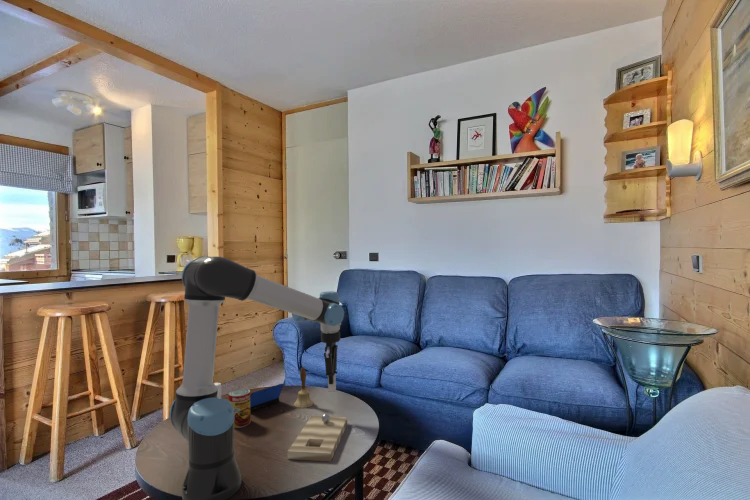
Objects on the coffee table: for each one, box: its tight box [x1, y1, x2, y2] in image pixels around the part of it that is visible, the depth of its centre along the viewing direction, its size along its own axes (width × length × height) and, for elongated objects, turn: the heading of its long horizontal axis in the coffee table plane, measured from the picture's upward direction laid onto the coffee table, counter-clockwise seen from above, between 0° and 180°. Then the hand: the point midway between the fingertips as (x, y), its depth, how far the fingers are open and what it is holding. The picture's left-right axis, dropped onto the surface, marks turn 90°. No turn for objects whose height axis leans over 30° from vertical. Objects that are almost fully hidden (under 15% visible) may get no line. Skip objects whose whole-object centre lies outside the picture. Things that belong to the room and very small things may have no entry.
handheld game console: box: [250, 383, 284, 411], centre depth 165 cm, size 16×13×9 cm
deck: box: [287, 415, 348, 462], centre depth 133 cm, size 26×14×2 cm, turn 173°
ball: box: [321, 413, 331, 423], centre depth 141 cm, size 3×3×3 cm
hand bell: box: [293, 366, 314, 409], centre depth 165 cm, size 8×8×16 cm
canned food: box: [228, 387, 252, 429], centre depth 148 cm, size 8×8×12 cm
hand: (332, 391), depth 151 cm, fingers closed
